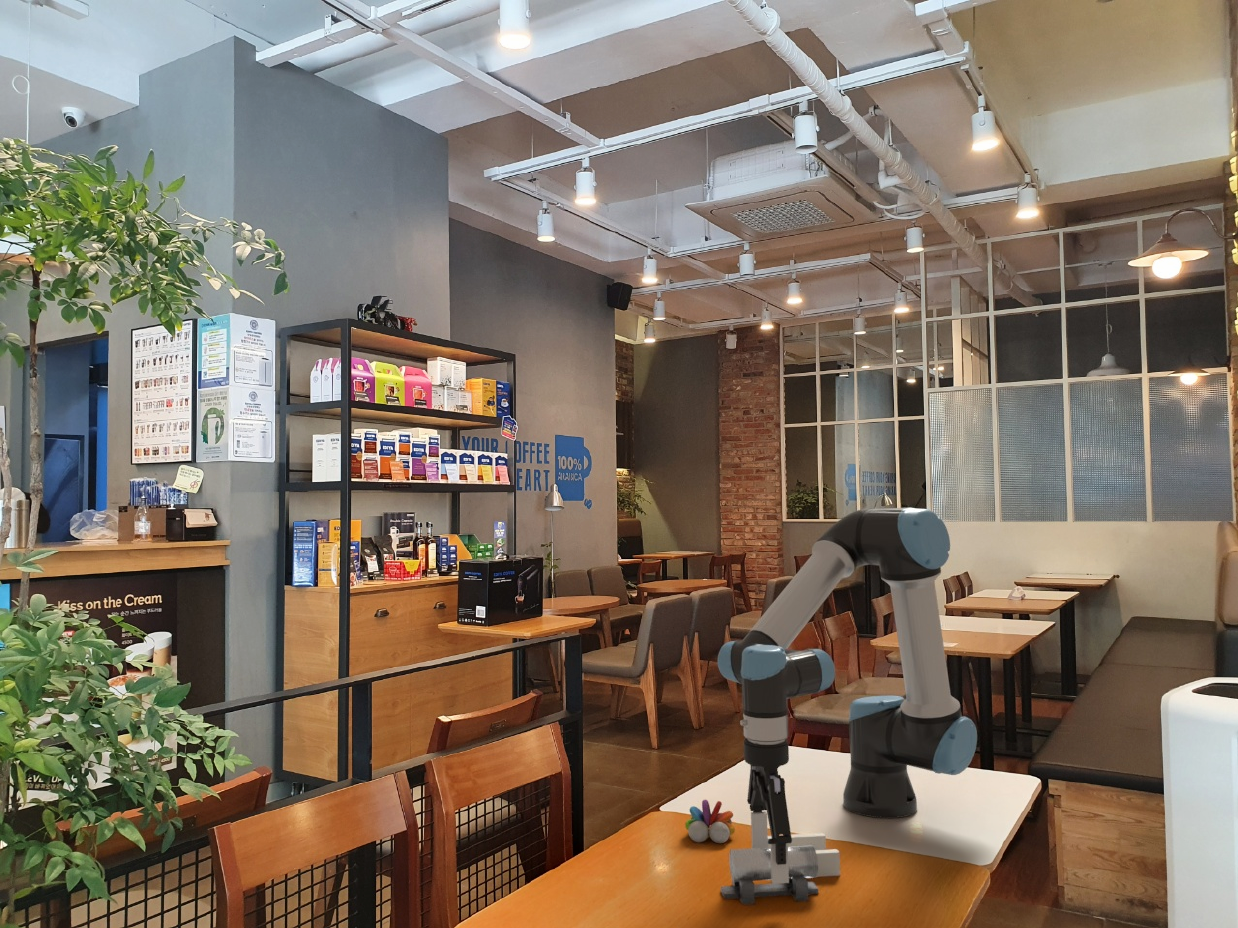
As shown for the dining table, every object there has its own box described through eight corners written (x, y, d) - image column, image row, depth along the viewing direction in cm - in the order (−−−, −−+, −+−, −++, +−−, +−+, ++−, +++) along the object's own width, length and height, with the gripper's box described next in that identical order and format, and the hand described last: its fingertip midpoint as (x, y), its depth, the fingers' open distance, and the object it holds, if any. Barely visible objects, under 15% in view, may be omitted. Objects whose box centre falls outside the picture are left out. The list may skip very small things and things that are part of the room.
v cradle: (808, 880, 159) (808, 860, 159) (823, 899, 151) (822, 879, 151) (718, 885, 158) (717, 865, 158) (727, 905, 150) (727, 884, 150)
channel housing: (823, 854, 170) (822, 832, 170) (840, 875, 161) (839, 852, 161) (765, 857, 169) (764, 835, 169) (778, 878, 160) (778, 855, 160)
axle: (812, 877, 156) (807, 846, 159) (819, 876, 152) (815, 844, 154) (731, 882, 155) (728, 850, 157) (736, 881, 151) (733, 848, 153)
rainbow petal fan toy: (733, 846, 175) (732, 808, 176) (683, 844, 177) (682, 806, 177) (736, 830, 184) (735, 794, 184) (688, 828, 185) (687, 792, 186)
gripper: (728, 721, 167) (732, 839, 167) (761, 760, 143) (765, 898, 142) (769, 719, 168) (772, 836, 167) (808, 758, 143) (813, 895, 143)
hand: (769, 865), depth 155 cm, fingers open, 13 cm apart
